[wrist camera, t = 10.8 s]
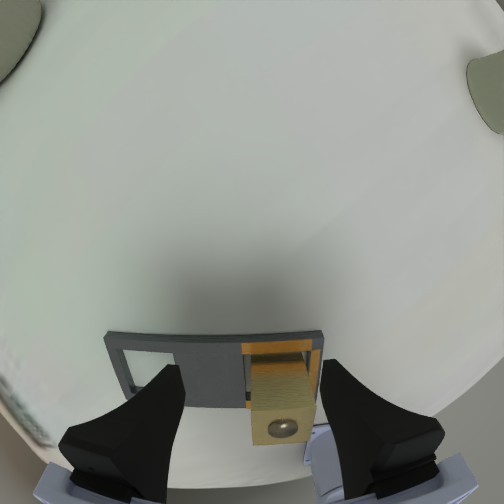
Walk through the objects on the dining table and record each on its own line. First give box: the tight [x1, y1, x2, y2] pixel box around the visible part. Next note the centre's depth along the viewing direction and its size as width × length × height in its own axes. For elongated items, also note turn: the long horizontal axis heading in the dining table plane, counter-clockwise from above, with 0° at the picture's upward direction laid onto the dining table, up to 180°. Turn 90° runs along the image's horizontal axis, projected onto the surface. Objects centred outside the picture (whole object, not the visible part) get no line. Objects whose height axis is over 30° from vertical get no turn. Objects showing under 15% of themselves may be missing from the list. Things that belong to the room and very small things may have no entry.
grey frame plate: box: [103, 330, 324, 409], centre depth 23 cm, size 8×20×1 cm, turn 92°
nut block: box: [251, 351, 317, 445], centre depth 20 cm, size 4×4×8 cm
